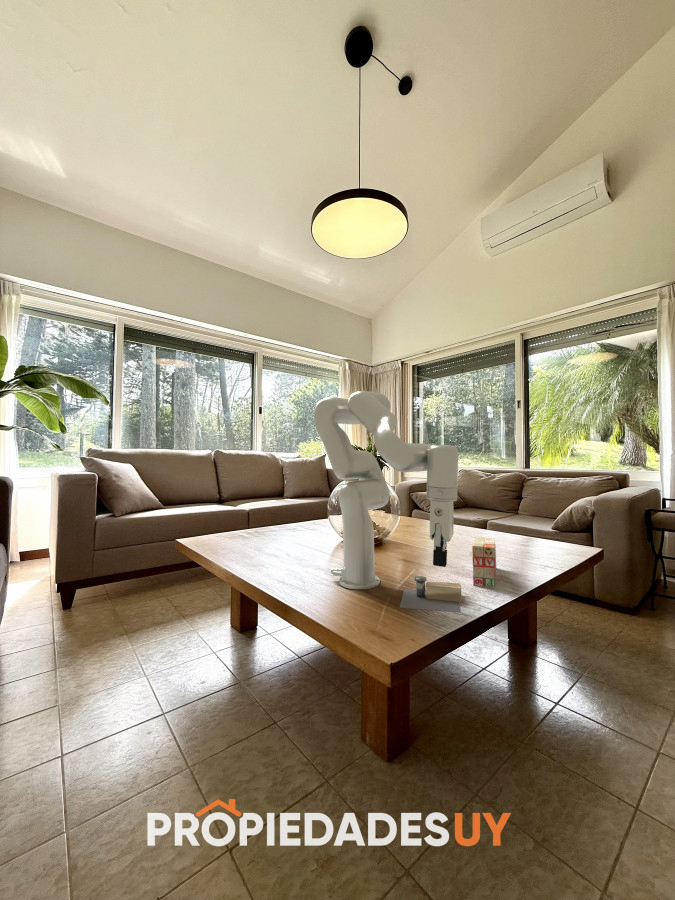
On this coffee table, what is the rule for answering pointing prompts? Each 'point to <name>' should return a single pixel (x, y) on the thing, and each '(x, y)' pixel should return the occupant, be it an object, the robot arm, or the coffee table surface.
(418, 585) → the post
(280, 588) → the coffee table surface
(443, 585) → the leg
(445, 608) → the mat
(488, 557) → the stack of blocks
